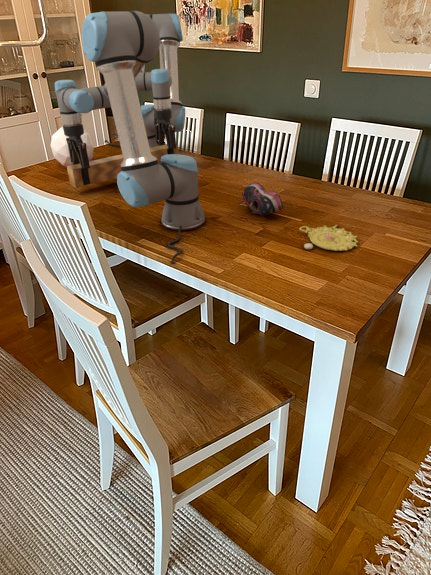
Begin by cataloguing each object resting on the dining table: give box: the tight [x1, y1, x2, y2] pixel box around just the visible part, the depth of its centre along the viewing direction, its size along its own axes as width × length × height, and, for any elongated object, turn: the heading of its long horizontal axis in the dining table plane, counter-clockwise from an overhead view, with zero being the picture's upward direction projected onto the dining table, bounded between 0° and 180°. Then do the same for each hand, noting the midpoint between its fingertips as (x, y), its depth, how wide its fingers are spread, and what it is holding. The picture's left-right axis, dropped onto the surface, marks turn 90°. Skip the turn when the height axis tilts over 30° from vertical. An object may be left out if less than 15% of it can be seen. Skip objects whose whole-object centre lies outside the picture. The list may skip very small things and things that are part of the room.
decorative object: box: [299, 224, 359, 252], centre depth 141 cm, size 21×2×20 cm
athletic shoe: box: [238, 182, 284, 217], centre depth 160 cm, size 11×22×12 cm
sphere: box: [50, 126, 95, 168], centre depth 209 cm, size 19×20×20 cm
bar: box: [66, 143, 180, 189], centre depth 192 cm, size 51×6×8 cm, turn 129°
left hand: (167, 161), depth 205 cm, fingers closed on bar, 6 cm apart
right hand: (83, 182), depth 183 cm, fingers closed on bar, 6 cm apart
